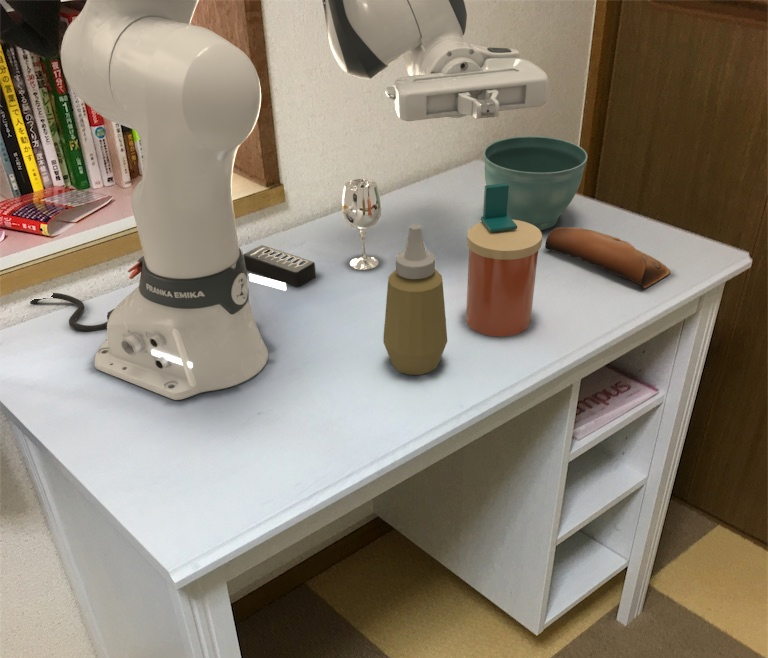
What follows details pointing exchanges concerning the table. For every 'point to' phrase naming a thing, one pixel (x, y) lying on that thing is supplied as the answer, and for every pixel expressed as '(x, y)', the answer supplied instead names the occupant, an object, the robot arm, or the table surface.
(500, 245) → the cup lid
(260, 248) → the multiport hub
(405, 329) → the squeeze bottle
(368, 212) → the wineglass
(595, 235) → the sunglasses case
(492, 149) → the flower pot
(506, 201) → the teal l-shaped bracket
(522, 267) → the lidded orange canister
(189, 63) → the robot arm
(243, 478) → the table surface
